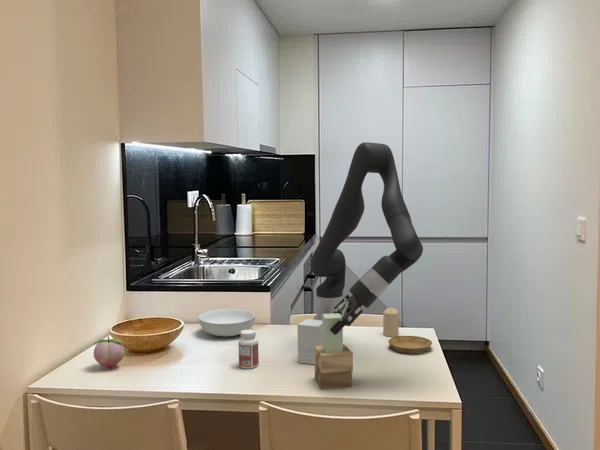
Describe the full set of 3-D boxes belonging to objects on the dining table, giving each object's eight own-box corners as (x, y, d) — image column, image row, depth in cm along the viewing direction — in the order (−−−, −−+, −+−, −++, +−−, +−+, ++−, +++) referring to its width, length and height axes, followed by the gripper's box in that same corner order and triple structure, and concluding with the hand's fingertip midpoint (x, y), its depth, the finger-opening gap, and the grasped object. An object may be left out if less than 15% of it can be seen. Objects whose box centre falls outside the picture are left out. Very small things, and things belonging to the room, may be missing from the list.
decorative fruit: (126, 362, 195) (125, 331, 194) (123, 370, 187) (122, 339, 186) (96, 364, 193) (94, 333, 192) (91, 372, 185) (90, 340, 184)
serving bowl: (187, 335, 224) (186, 317, 223) (225, 323, 241) (224, 306, 241) (229, 345, 212) (229, 325, 212) (266, 331, 229) (266, 313, 229)
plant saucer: (379, 350, 206) (379, 342, 206) (402, 340, 218) (402, 332, 217) (418, 359, 197) (418, 351, 197) (439, 348, 208) (439, 340, 208)
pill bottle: (254, 361, 195) (253, 327, 194) (261, 367, 189) (261, 332, 188) (236, 364, 192) (235, 330, 191) (242, 370, 187) (242, 335, 185)
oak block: (314, 362, 179) (314, 346, 179) (344, 360, 181) (344, 344, 180) (321, 373, 170) (321, 355, 170) (352, 370, 172) (352, 353, 172)
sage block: (322, 347, 177) (322, 314, 176) (339, 346, 178) (339, 313, 177) (325, 352, 172) (325, 318, 171) (342, 352, 173) (342, 317, 172)
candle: (398, 337, 220) (398, 310, 219) (382, 336, 221) (383, 309, 220) (398, 333, 225) (399, 306, 224) (383, 332, 226) (384, 306, 225)
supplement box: (327, 358, 197) (327, 320, 196) (318, 365, 190) (318, 326, 189) (306, 355, 200) (306, 318, 199) (297, 362, 193) (296, 323, 192)
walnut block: (314, 378, 180) (314, 362, 179) (344, 377, 181) (344, 360, 181) (320, 390, 171) (320, 372, 170) (351, 388, 172) (351, 371, 172)
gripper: (354, 274, 181) (316, 313, 181) (365, 284, 167) (324, 326, 167) (372, 291, 182) (334, 330, 182) (384, 302, 168) (343, 344, 168)
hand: (329, 328), depth 174 cm, fingers open, 8 cm apart
